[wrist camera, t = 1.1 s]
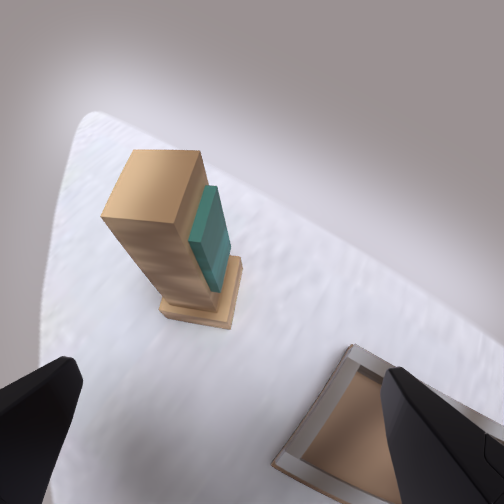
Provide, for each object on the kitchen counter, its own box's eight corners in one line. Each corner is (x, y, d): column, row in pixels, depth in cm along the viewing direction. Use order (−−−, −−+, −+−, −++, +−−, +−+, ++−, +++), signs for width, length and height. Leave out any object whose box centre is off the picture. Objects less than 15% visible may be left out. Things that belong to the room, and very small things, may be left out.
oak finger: (167, 318, 24) (82, 224, 13) (182, 260, 26) (124, 143, 15) (230, 329, 23) (188, 236, 12) (242, 268, 26) (218, 143, 14)
